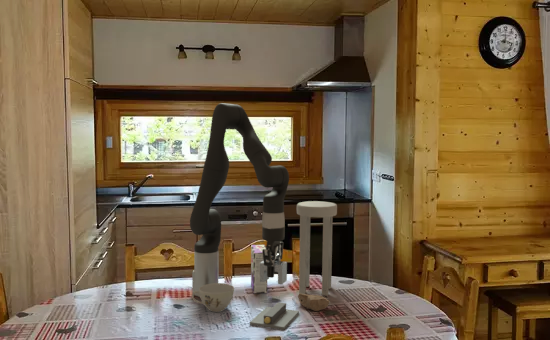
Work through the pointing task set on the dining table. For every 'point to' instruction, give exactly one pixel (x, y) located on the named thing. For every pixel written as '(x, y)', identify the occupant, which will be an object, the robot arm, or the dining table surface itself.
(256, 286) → the candy box
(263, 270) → the grey arch block
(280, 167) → the robot arm
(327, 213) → the stool
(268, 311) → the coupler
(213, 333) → the dining table surface
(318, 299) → the stone
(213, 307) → the teacup
